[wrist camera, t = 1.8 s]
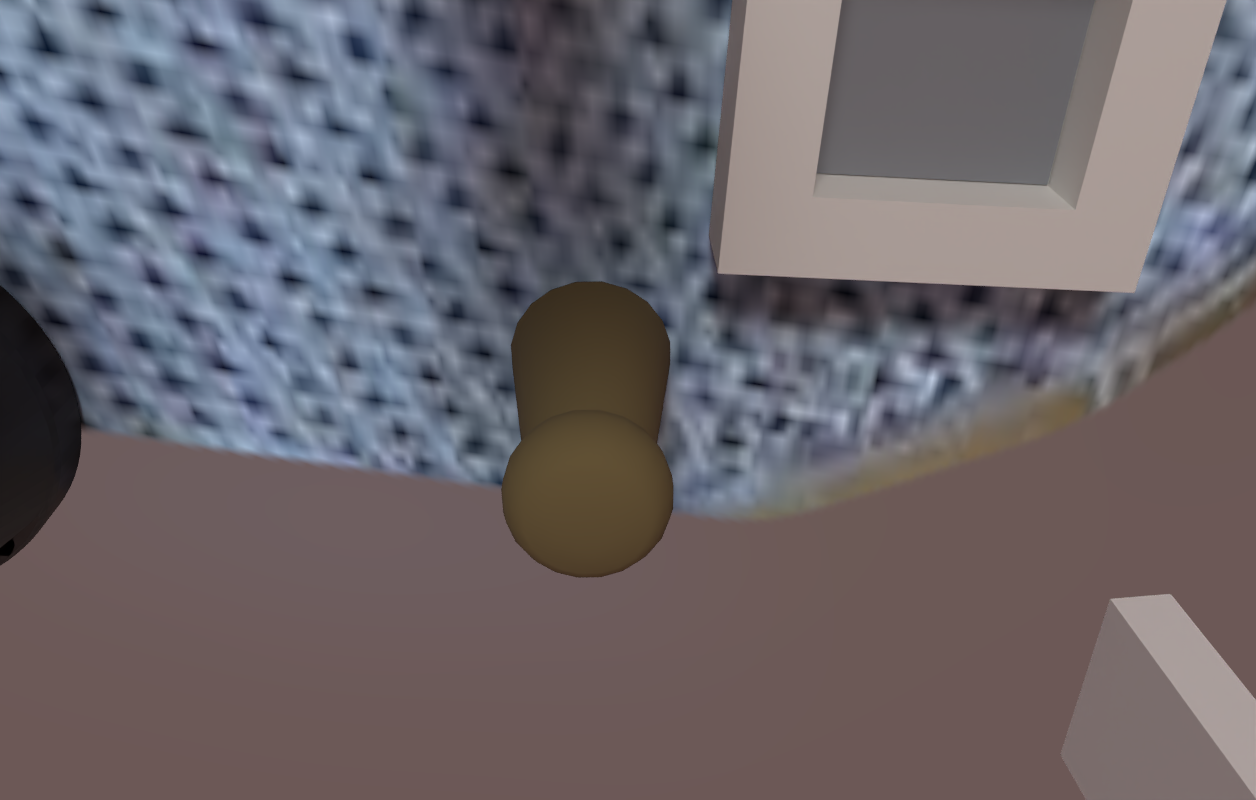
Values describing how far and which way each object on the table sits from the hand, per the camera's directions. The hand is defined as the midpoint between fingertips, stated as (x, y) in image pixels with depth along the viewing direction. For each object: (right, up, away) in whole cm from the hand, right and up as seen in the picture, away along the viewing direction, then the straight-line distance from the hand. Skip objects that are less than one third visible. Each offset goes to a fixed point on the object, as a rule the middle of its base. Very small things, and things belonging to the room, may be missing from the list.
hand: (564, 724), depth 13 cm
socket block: (+11, +15, +23) cm, 30 cm away
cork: (-1, +6, +28) cm, 29 cm away
